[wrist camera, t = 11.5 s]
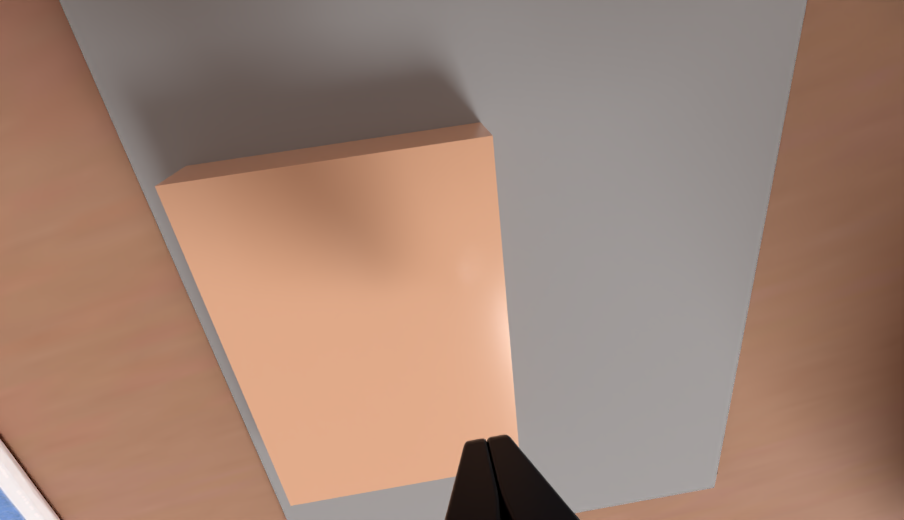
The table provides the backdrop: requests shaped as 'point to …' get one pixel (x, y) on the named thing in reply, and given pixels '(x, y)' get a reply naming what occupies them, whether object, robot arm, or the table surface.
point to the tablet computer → (20, 492)
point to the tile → (357, 302)
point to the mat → (511, 188)
